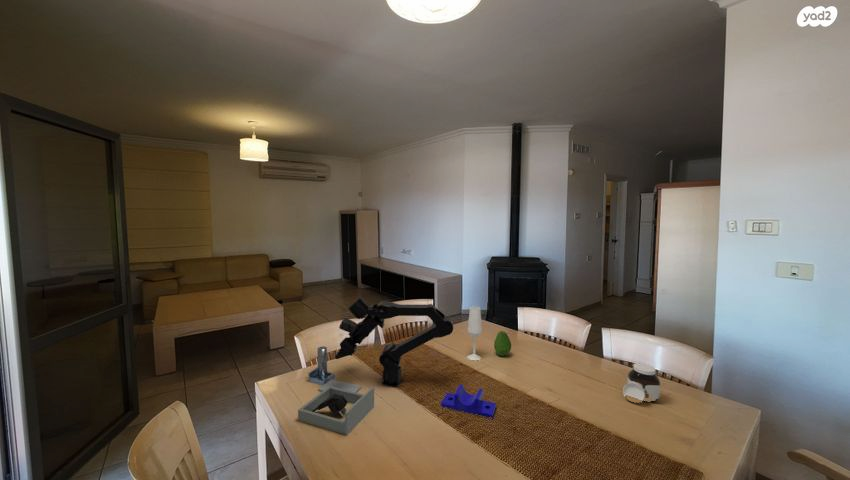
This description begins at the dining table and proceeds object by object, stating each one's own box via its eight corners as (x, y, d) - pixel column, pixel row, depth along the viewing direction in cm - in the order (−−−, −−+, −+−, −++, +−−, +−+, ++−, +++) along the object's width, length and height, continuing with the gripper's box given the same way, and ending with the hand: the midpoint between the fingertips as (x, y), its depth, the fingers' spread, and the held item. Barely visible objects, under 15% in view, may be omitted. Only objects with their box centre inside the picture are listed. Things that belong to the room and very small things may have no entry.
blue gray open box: (335, 377, 135) (335, 368, 134) (324, 385, 128) (323, 376, 128) (320, 373, 137) (319, 365, 137) (308, 381, 131) (308, 373, 131)
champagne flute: (480, 355, 158) (481, 306, 156) (481, 361, 151) (483, 310, 149) (466, 354, 158) (467, 305, 157) (466, 360, 152) (468, 309, 150)
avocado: (493, 357, 155) (493, 332, 154) (494, 351, 163) (495, 327, 162) (510, 359, 153) (511, 334, 152) (511, 353, 160) (512, 329, 159)
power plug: (314, 405, 114) (341, 387, 112) (326, 423, 114) (354, 405, 112) (307, 414, 108) (335, 396, 107) (320, 433, 108) (349, 415, 107)
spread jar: (656, 395, 124) (658, 365, 123) (663, 411, 114) (665, 379, 113) (619, 388, 129) (621, 359, 128) (623, 402, 119) (625, 371, 118)
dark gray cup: (329, 378, 133) (328, 348, 132) (320, 381, 130) (320, 351, 129) (324, 375, 135) (323, 345, 134) (316, 378, 133) (315, 348, 131)
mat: (361, 387, 127) (361, 386, 127) (349, 398, 119) (349, 397, 119) (331, 380, 132) (331, 379, 132) (318, 390, 124) (318, 389, 124)
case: (374, 406, 114) (374, 387, 114) (347, 435, 100) (347, 413, 99) (329, 395, 121) (329, 377, 121) (298, 420, 106) (297, 399, 106)
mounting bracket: (496, 408, 115) (496, 391, 115) (492, 420, 108) (492, 402, 108) (447, 397, 122) (447, 381, 121) (440, 407, 115) (441, 391, 115)
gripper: (358, 305, 139) (333, 330, 141) (344, 319, 121) (316, 348, 122) (376, 324, 139) (351, 349, 141) (366, 341, 121) (337, 369, 122)
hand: (339, 353), depth 132 cm, fingers open, 9 cm apart
